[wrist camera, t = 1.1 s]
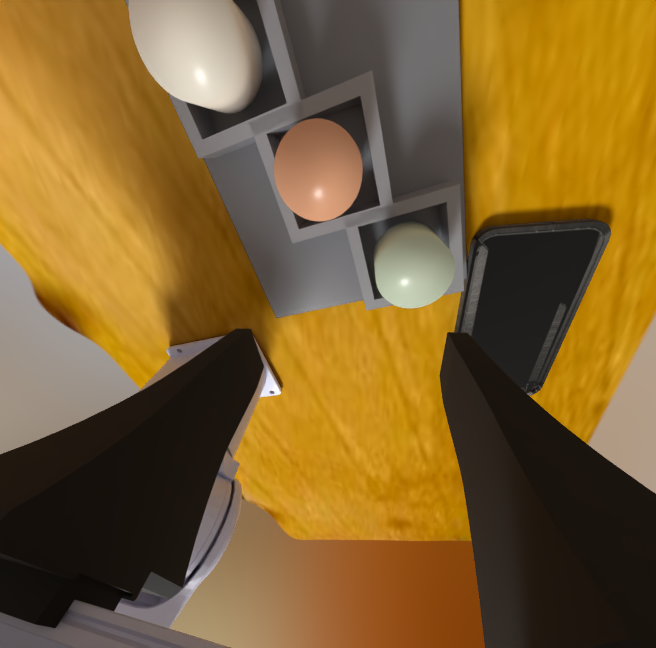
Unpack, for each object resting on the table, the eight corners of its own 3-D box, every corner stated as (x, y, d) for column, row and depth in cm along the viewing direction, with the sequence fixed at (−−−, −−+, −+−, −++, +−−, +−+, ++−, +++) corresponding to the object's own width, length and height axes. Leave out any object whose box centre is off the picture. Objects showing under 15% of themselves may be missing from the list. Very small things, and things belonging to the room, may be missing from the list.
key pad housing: (277, 315, 23) (269, 332, 21) (145, 21, 14) (105, -4, 12) (464, 275, 19) (477, 291, 17) (449, -161, 10) (472, -247, 8)
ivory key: (208, 125, 14) (170, 118, 11) (164, 22, 12) (105, -17, 9) (275, 95, 13) (252, 80, 10) (239, -22, 11) (198, -80, 8)
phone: (446, 395, 25) (477, 230, 17) (443, 386, 26) (471, 226, 18) (539, 396, 24) (621, 219, 16) (532, 386, 24) (606, 215, 17)
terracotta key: (304, 217, 16) (292, 230, 13) (279, 141, 14) (259, 138, 11) (369, 198, 15) (370, 207, 12) (352, 113, 13) (349, 102, 10)
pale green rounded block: (379, 289, 18) (382, 314, 15) (367, 231, 16) (368, 247, 13) (441, 276, 17) (456, 300, 14) (436, 212, 15) (452, 225, 12)
